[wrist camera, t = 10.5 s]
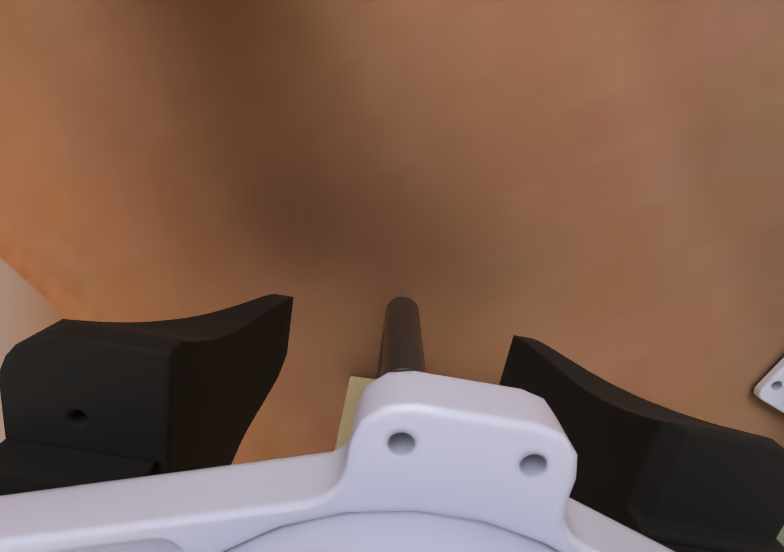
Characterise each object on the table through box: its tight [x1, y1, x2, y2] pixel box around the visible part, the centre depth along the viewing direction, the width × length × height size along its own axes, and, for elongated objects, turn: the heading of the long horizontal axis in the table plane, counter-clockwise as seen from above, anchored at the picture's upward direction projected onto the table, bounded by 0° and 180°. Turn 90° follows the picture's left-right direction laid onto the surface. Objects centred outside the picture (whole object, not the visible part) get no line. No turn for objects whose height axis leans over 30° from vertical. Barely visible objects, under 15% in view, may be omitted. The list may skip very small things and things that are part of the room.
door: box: [334, 297, 426, 451], centre depth 17 cm, size 6×16×10 cm, turn 82°
